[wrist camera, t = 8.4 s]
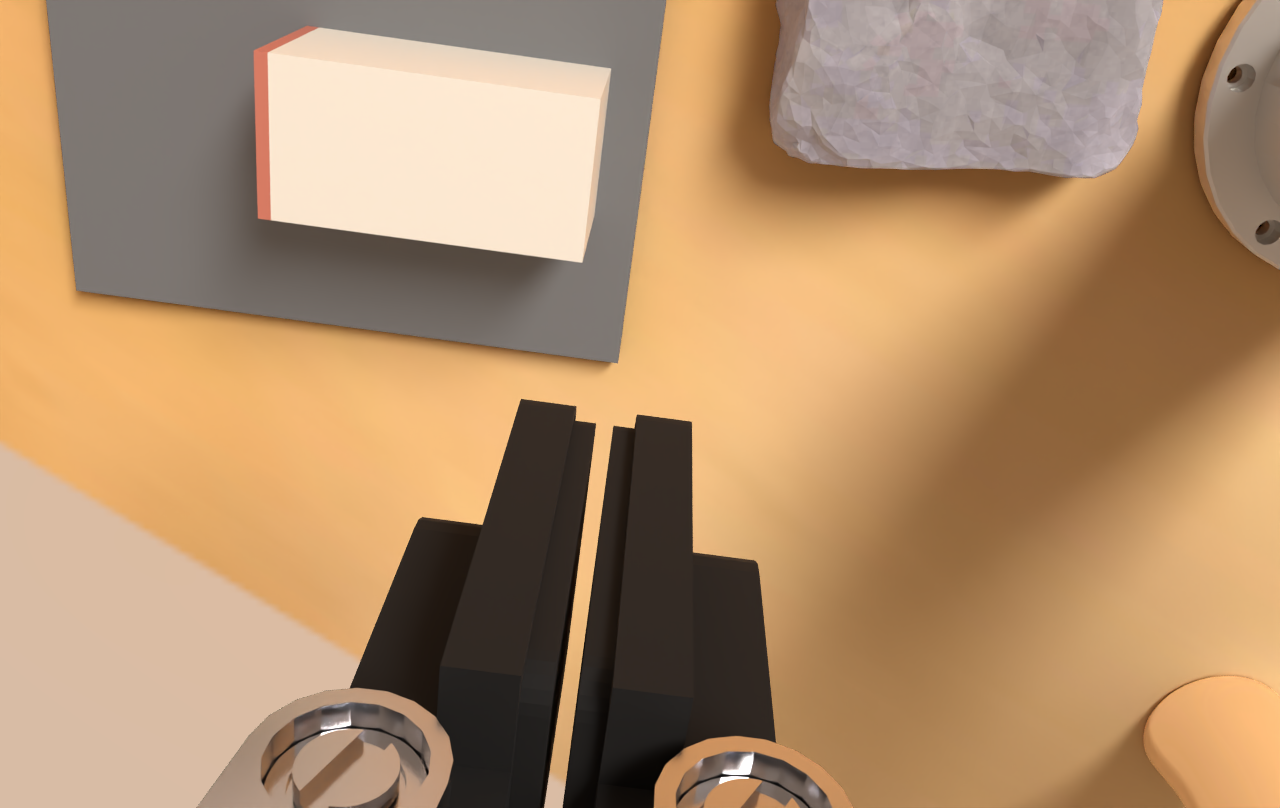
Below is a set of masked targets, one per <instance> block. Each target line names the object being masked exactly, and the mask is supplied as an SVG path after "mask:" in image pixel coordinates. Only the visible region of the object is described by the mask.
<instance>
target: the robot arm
mask: <svg viewBox="0 0 1280 808" xmlns="http://www.w3.org/2000/svg"><path fill="white" fill-rule="evenodd" d="M1235 67H1236V74H1235V76H1234V78H1232V79H1231V80H1229V81H1227V76H1228V75H1229V73H1230V71H1231V70H1232V69H1233V68H1235ZM1194 154H1195V159H1196V164H1197V169H1198V173H1199V178H1200V183H1201V186H1202V188H1203V190H1204V192H1205V195H1206V197H1207V199H1208V201H1209V203H1210V206H1211V208H1212V210H1213V212H1214V214H1215V215H1216V216H1217V217H1218V219H1219V220H1220V221H1221V223H1222V224H1223V225H1224V226H1225V228H1226V229H1227V230H1228V231H1229V233H1230V234H1231V235H1232V237H1234V238H1235V239H1236V240H1237V241H1239V242H1240V243H1241V244H1242V245H1244V246H1245V247H1246V248H1247V249H1248V250H1250V251H1251V252H1252V253H1253V254H1255V255H1256V256H1258V257H1260V258H1261V259H1263V260H1264V261H1266V262H1268V263H1269V264H1271V265H1272V266H1274V267H1276V268H1277V269H1279V270H1280V0H1243V1H1242V2H1241V3H1240V4H1239V5H1238V7H1237V9H1236V10H1235V12H1234V14H1233V15H1232V17H1231V19H1230V20H1229V22H1228V24H1227V25H1226V27H1225V29H1224V30H1223V32H1222V34H1221V35H1220V37H1219V39H1218V40H1217V42H1216V45H1215V48H1214V50H1213V53H1212V55H1211V58H1210V60H1209V63H1208V65H1207V68H1206V70H1205V73H1204V75H1203V78H1202V81H1201V86H1200V91H1199V96H1198V101H1197V106H1196V111H1195V116H1194ZM1262 223H1263V226H1262V227H1261V228H1260V229H1258V230H1257V228H1258V227H1259V225H1260V224H1262ZM1256 230H1257V231H1256ZM575 419H576V406H569V405H562V404H554V403H547V402H539V401H532V400H524V399H521V401H520V404H519V407H518V410H517V414H516V417H515V420H514V424H513V427H512V430H511V433H510V437H509V440H508V443H507V447H506V450H505V453H504V456H503V460H502V463H501V466H500V470H499V473H498V476H497V480H496V483H495V486H494V489H493V493H492V496H491V499H490V503H489V506H488V509H487V512H486V516H485V519H484V522H483V525H478V524H471V523H463V522H455V521H448V520H440V519H433V518H425V517H422V518H420V519H419V520H418V522H417V524H416V526H415V528H414V530H413V533H412V535H411V538H410V540H409V543H408V545H407V547H406V550H405V552H404V555H403V557H402V560H401V562H400V565H399V567H398V570H397V572H396V575H395V577H394V580H393V582H392V585H391V587H390V590H389V592H388V595H387V597H386V600H385V602H384V605H383V607H382V609H381V612H380V614H379V617H378V619H377V622H376V624H375V627H374V629H373V632H372V634H371V637H370V639H369V642H368V644H367V647H366V649H365V652H364V654H363V657H362V659H361V662H360V664H359V667H358V669H357V671H356V674H355V676H354V679H353V681H352V684H351V686H350V689H340V690H328V691H323V692H320V693H317V694H314V695H310V696H307V697H304V698H301V699H297V700H295V701H293V702H292V703H290V704H288V705H286V706H285V707H283V708H281V709H279V710H277V711H276V712H274V713H272V714H271V715H269V716H268V717H267V718H266V719H265V720H264V721H263V722H262V723H261V724H260V725H259V726H258V727H257V728H256V729H255V730H254V731H253V732H252V733H251V734H250V735H249V736H248V738H247V739H246V740H245V742H244V743H243V745H242V746H241V747H240V749H239V750H238V752H237V753H236V754H235V756H234V757H233V758H232V760H231V761H230V762H229V764H228V765H227V767H226V768H225V769H224V771H223V772H222V773H221V775H220V776H219V777H218V779H217V780H216V782H215V783H214V784H213V786H212V787H211V788H210V790H209V791H208V793H207V794H206V795H205V797H204V798H203V800H202V801H201V802H200V804H199V805H198V807H197V808H544V804H545V797H546V791H547V784H548V778H549V771H550V764H551V758H552V751H553V744H554V738H555V731H556V724H557V718H558V711H559V705H560V698H561V691H562V685H563V678H564V671H565V664H566V657H567V649H568V642H569V634H570V626H571V618H572V610H573V602H574V594H575V586H576V579H577V571H578V563H579V555H580V547H581V539H582V531H583V523H584V515H585V507H586V500H587V492H588V484H589V476H590V468H591V460H592V452H593V444H594V436H595V428H596V424H595V423H588V422H580V421H575ZM563 808H853V806H852V804H851V802H850V801H849V799H848V797H847V795H846V793H845V791H844V790H843V788H842V787H841V786H840V785H839V784H838V783H837V782H836V781H835V780H834V779H833V778H832V777H831V776H830V775H829V774H828V772H827V771H826V770H825V769H824V768H823V767H822V766H820V765H818V764H817V763H815V762H814V761H812V760H810V759H809V758H807V757H806V756H804V755H802V754H801V753H799V752H798V751H796V750H793V749H791V748H788V747H785V746H782V745H780V744H777V743H776V739H775V729H774V719H773V709H772V698H771V688H770V678H769V668H768V657H767V647H766V637H765V627H764V617H763V606H762V596H761V586H760V576H759V569H758V564H757V563H756V561H754V560H746V559H739V558H731V557H723V556H716V555H708V554H700V553H693V524H692V422H689V421H682V420H674V419H667V418H659V417H652V416H644V415H637V417H636V423H635V429H633V428H625V427H618V426H614V427H613V434H612V441H611V449H610V456H609V463H608V471H607V478H606V486H605V493H604V501H603V508H602V515H601V523H600V530H599V538H598V545H597V552H596V560H595V567H594V575H593V582H592V590H591V597H590V604H589V612H588V619H587V627H586V634H585V642H584V649H583V657H582V664H581V672H580V679H579V687H578V694H577V702H576V710H575V717H574V725H573V733H572V740H571V748H570V755H569V763H568V771H567V778H566V786H565V794H564V801H563Z"/></svg>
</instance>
